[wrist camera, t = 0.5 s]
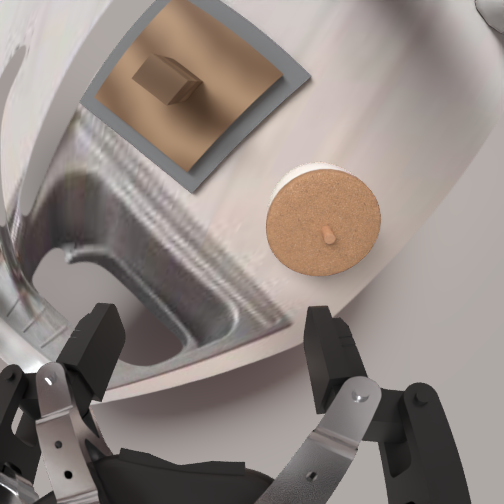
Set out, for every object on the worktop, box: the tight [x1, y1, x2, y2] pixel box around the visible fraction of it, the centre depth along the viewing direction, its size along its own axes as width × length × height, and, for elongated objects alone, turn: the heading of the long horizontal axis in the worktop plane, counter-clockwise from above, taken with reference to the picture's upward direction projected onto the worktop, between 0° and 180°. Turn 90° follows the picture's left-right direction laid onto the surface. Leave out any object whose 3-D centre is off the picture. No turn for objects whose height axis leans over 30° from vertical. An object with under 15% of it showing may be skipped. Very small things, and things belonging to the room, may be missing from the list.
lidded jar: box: [266, 162, 381, 276], centre depth 27 cm, size 11×11×9 cm
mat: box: [80, 0, 311, 193], centre depth 23 cm, size 18×18×1 cm
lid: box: [94, 0, 283, 172], centre depth 20 cm, size 14×14×7 cm
